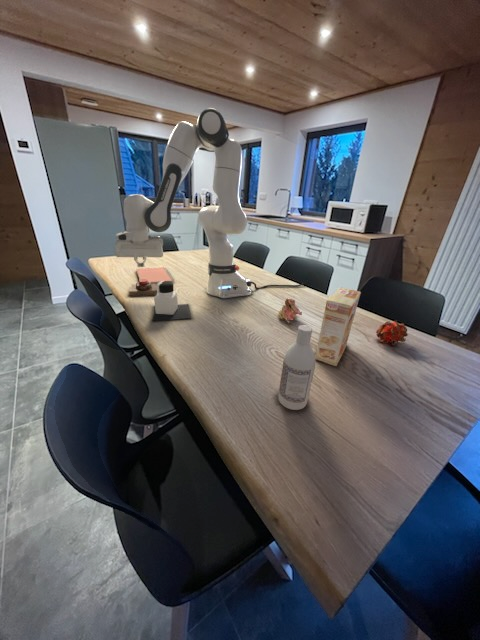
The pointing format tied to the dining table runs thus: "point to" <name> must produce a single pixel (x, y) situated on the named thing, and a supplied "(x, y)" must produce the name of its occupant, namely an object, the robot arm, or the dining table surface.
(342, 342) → the coffeecake box
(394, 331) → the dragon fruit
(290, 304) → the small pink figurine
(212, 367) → the dining table surface
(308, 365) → the bath foam
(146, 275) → the notebook
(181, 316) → the mat
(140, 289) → the button box
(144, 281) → the button
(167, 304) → the medicine bottle
